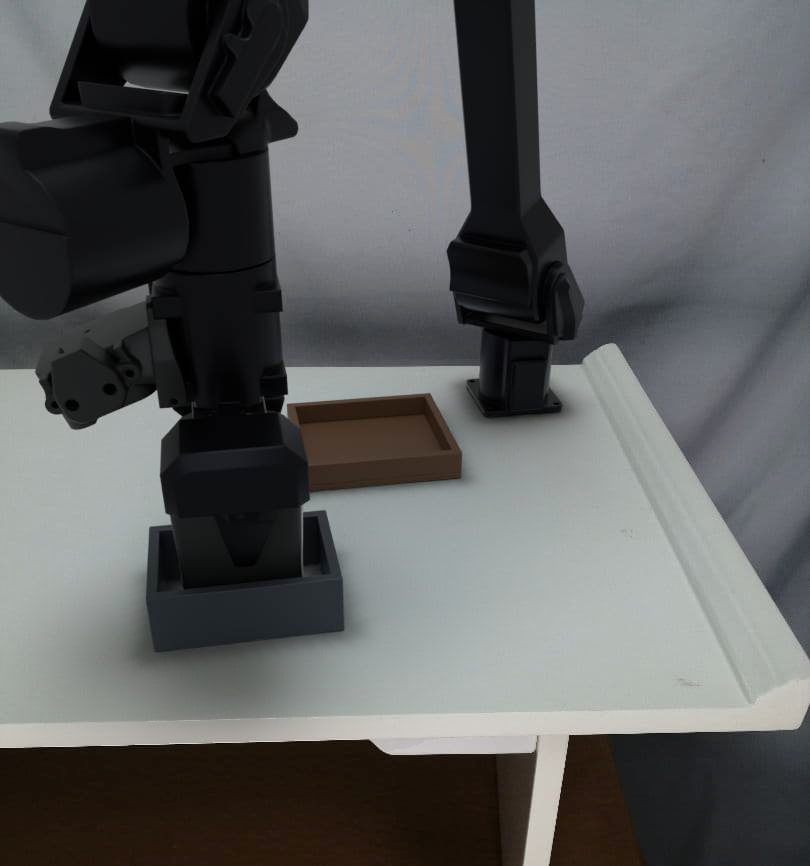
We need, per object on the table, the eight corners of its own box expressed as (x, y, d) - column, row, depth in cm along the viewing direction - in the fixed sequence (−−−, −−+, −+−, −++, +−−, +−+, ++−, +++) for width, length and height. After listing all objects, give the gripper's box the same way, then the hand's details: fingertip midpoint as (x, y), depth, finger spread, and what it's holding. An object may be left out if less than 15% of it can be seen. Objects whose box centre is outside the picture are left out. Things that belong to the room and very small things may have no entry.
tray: (288, 427, 73) (286, 403, 72) (429, 415, 75) (430, 392, 74) (302, 492, 65) (300, 466, 64) (461, 477, 67) (462, 452, 66)
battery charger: (310, 582, 56) (299, 399, 50) (308, 618, 53) (297, 427, 47) (190, 585, 56) (166, 402, 50) (181, 622, 52) (154, 430, 47)
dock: (157, 576, 56) (148, 526, 54) (327, 558, 58) (325, 509, 56) (154, 652, 50) (145, 599, 48) (344, 630, 52) (342, 578, 50)
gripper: (52, 211, 50) (102, 472, 58) (-5, 340, 34) (74, 668, 43) (265, 202, 52) (283, 456, 60) (301, 321, 36) (318, 639, 45)
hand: (242, 540), depth 52 cm, fingers closed on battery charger, 4 cm apart
